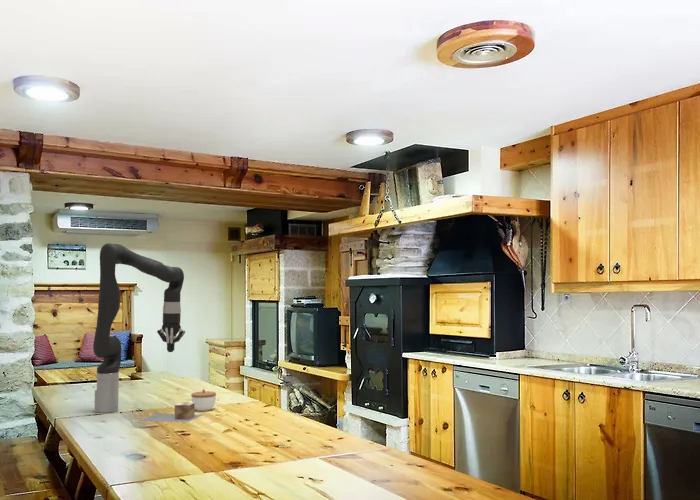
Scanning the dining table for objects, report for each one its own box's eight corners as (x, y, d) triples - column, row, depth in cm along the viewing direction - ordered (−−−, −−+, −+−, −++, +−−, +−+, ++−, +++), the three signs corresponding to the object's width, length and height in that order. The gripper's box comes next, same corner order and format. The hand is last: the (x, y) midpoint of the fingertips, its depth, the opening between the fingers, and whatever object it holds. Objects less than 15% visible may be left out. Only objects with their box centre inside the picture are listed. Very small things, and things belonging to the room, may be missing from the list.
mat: (137, 421, 269) (137, 420, 269) (156, 414, 285) (156, 413, 285) (187, 423, 265) (187, 422, 265) (203, 415, 281) (203, 414, 281)
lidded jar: (218, 408, 297) (218, 387, 298) (211, 413, 287) (211, 391, 287) (195, 408, 298) (195, 387, 299) (187, 412, 288) (187, 391, 288)
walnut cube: (188, 404, 271) (188, 419, 270) (194, 402, 277) (194, 416, 276) (174, 404, 272) (174, 419, 272) (181, 402, 278) (181, 416, 277)
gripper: (153, 312, 286) (152, 352, 285) (181, 313, 283) (180, 353, 282) (162, 311, 293) (161, 350, 292) (189, 312, 290) (188, 351, 289)
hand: (170, 351), depth 287 cm, fingers closed
